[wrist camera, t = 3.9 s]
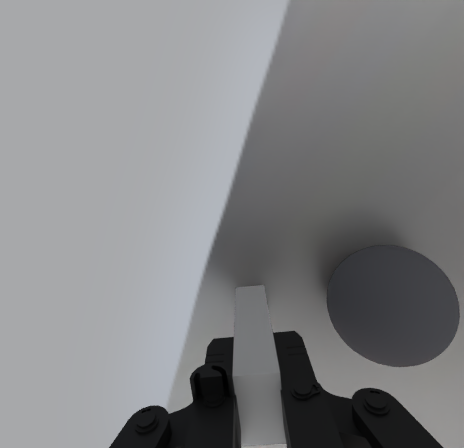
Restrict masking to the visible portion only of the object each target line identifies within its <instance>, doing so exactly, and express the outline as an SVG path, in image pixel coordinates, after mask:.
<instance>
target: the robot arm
mask: <svg viewBox="0 0 464 448" xmlns="http://www.w3.org/2000/svg"><path fill="white" fill-rule="evenodd" d="M190 384H191V390H192V396H193V403H192V404H190V405H189V406H187V407H186V408H183V409H181V410H179V411H176V412H173V413H170V414H168V412H167V411H166V409H165V408H163V407H160V406H148V407H146V408H143V409H141V410H139V411H138V412H136V413H135V414H133V415H132V417H131V418H130V419H129V420H128V421H127V423H126V424H125V426H124V427H123V428H122V430H121V431H120V433H119V434H118V436H117V437H116V439H115V440H114V442H113V443H112V444H111V446H110V447H109V448H241V444H242V446H257V445H271V444H287V448H443V447H442V446H441V445H440V444H439V443H438V442H437V441H436V440H435V439H434V438H433V436H432V435H431V434H430V433H429V432H428V431H427V430H426V429H425V428H424V427H423V426H422V425H421V424H420V423H419V422H418V421H417V420H416V419H415V418H414V417H413V416H412V415H411V414H410V413H409V412H408V411H407V410H406V409H405V408H404V407H403V406H402V405H401V404H400V403H399V402H398V401H397V400H396V399H395V398H394V397H393V396H391V395H390V394H389V393H387V392H384V391H382V390H380V389H374V388H364V389H360V390H358V391H357V392H355V394H354V395H353V397H352V399H349V398H344V397H339V396H335V395H333V394H330V393H328V392H327V391H325V390H324V389H323V388H322V386H321V385H320V384H319V383H318V382H317V380H316V377H315V374H314V371H313V368H312V366H311V363H310V360H309V357H308V354H307V351H306V348H305V345H304V342H303V339H302V337H301V336H300V335H299V334H298V333H297V332H295V331H287V332H276V333H273V331H272V326H271V320H270V315H269V309H268V304H267V298H266V293H265V288H264V285H258V286H247V287H237V288H236V293H235V321H234V337H228V338H217V339H213V340H212V342H211V343H210V344H209V345H208V347H207V353H206V359H205V365H203V366H201V367H199V368H197V369H196V370H195V371H194V372H193V373H192V375H191V377H190Z"/></svg>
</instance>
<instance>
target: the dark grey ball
mask: <svg viewBox="0 0 464 448" xmlns="http://www.w3.org/2000/svg"><path fill="white" fill-rule="evenodd" d="M327 307H328V312H329V316H330V319H331V321H332V324H333V326H334V328H335V330H336V331H337V333H338V334H339V335H340V337H341V338H342V339H343V341H344V342H345V343H346V344H347V345H348V346H349V347H350V348H352V349H353V350H354V351H355V352H357V353H358V354H360V355H361V356H363V357H365V358H367V359H369V360H371V361H373V362H376V363H379V364H382V365H388V366H393V367H408V366H415V365H419V364H423V363H425V362H428V361H430V360H432V359H434V358H435V357H437V356H438V355H440V354H441V353H442V352H443V351H444V350H445V349H446V348H447V347H448V346H449V344H450V343H451V342H452V340H453V338H454V336H455V334H456V331H457V328H458V324H459V318H460V313H459V302H458V298H457V295H456V292H455V290H454V287H453V286H452V284H451V282H450V280H449V279H448V277H447V276H446V275H445V273H444V272H443V271H442V270H441V269H440V268H439V267H438V266H437V265H436V264H435V263H433V262H432V261H431V260H429V259H428V258H426V257H425V256H423V255H421V254H419V253H417V252H415V251H413V250H410V249H407V248H403V247H398V246H391V245H381V246H372V247H368V248H365V249H362V250H359V251H357V252H355V253H353V254H352V255H350V256H349V257H347V258H346V259H345V260H344V261H343V262H342V263H341V264H340V265H339V266H338V267H337V269H336V270H335V272H334V273H333V275H332V277H331V279H330V282H329V286H328V291H327Z"/></svg>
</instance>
